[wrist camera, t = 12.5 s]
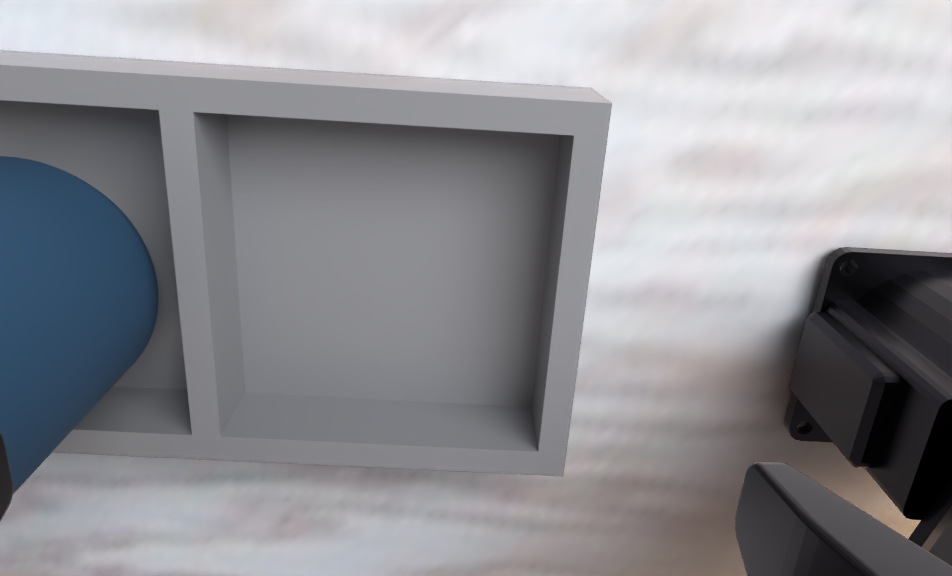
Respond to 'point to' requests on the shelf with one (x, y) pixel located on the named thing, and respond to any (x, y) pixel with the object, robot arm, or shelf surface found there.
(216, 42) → the shelf surface
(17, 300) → the soda can
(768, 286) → the shelf surface
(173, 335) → the can carrier
